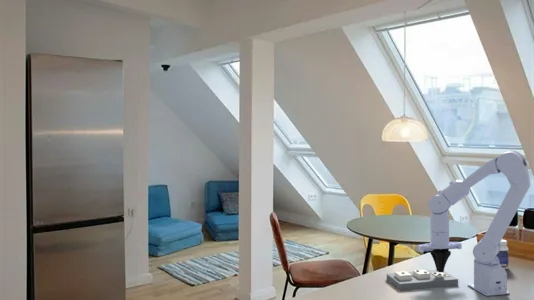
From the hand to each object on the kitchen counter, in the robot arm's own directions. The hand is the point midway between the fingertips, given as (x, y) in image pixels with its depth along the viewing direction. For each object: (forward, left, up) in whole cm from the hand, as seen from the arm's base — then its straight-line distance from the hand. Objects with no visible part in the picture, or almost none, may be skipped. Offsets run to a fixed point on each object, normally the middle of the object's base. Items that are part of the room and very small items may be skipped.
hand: (440, 271), depth 148 cm
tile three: (0, 0, -3) cm, 3 cm away
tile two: (0, +7, -2) cm, 7 cm away
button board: (0, +7, -3) cm, 7 cm away
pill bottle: (+8, -28, -3) cm, 29 cm away
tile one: (0, +13, -2) cm, 13 cm away
